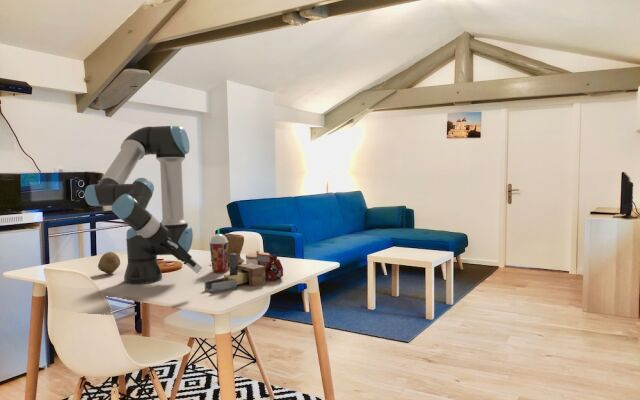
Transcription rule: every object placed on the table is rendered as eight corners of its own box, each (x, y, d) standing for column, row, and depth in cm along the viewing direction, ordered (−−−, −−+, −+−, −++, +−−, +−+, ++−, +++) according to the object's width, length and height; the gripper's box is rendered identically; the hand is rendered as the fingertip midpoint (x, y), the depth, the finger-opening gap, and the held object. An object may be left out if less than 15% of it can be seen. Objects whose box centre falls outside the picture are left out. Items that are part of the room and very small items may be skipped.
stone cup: (250, 262, 230) (249, 232, 229) (234, 267, 220) (233, 235, 219) (226, 260, 237) (225, 231, 236) (210, 264, 227) (209, 234, 226)
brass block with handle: (224, 284, 181) (222, 254, 180) (252, 278, 189) (251, 250, 189) (228, 285, 178) (227, 255, 177) (257, 279, 187) (256, 251, 186)
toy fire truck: (277, 282, 187) (276, 257, 186) (252, 279, 193) (252, 255, 193) (286, 278, 193) (286, 254, 192) (262, 276, 199) (262, 252, 199)
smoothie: (233, 271, 210) (231, 227, 209) (217, 274, 204) (215, 229, 203) (222, 268, 216) (220, 226, 215) (207, 272, 210) (205, 228, 209)
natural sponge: (124, 273, 211) (123, 251, 211) (104, 277, 205) (103, 254, 204) (115, 270, 217) (114, 249, 217) (96, 274, 211) (95, 252, 210)
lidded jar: (266, 274, 202) (265, 253, 201) (242, 274, 204) (242, 253, 204) (273, 269, 213) (272, 249, 212) (251, 268, 215) (250, 248, 214)
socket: (238, 282, 189) (237, 265, 189) (250, 279, 193) (249, 262, 193) (252, 286, 181) (252, 268, 181) (265, 283, 185) (265, 266, 185)
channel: (204, 290, 177) (204, 281, 177) (227, 285, 184) (227, 276, 183) (213, 293, 172) (212, 284, 172) (236, 288, 179) (236, 279, 179)
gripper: (138, 237, 163) (184, 275, 175) (152, 241, 153) (201, 281, 165) (152, 220, 166) (197, 259, 178) (167, 223, 156) (214, 264, 168)
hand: (199, 270), depth 172 cm, fingers closed
